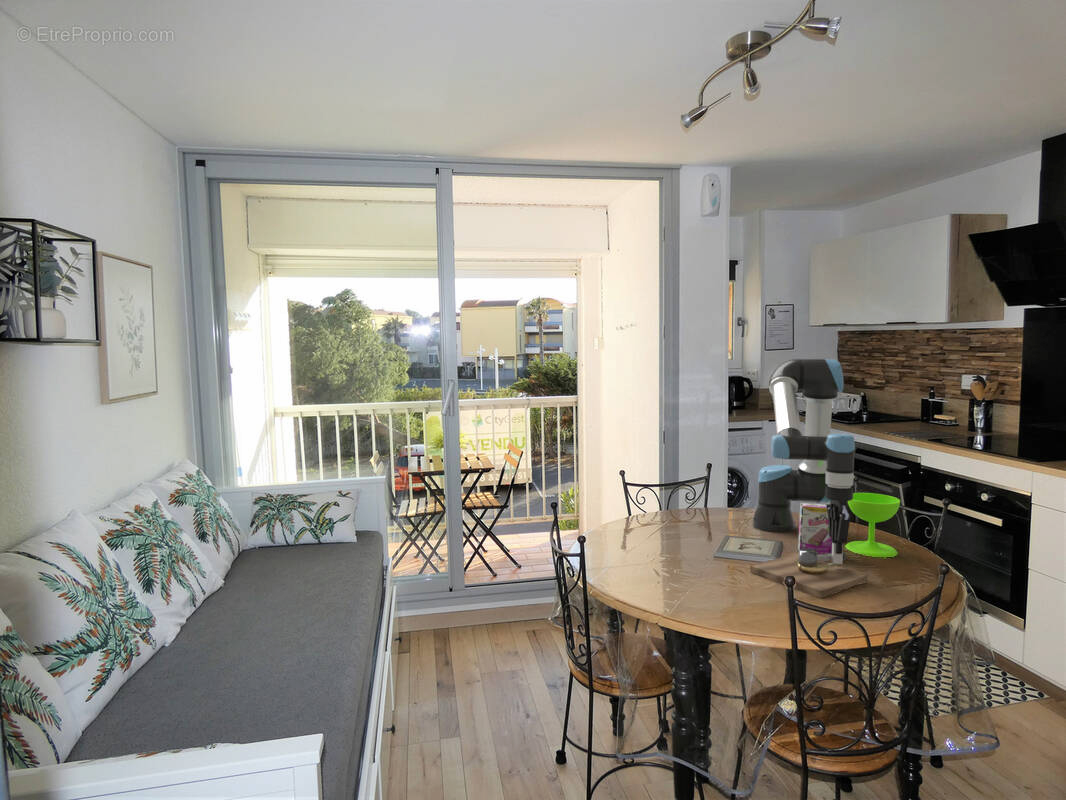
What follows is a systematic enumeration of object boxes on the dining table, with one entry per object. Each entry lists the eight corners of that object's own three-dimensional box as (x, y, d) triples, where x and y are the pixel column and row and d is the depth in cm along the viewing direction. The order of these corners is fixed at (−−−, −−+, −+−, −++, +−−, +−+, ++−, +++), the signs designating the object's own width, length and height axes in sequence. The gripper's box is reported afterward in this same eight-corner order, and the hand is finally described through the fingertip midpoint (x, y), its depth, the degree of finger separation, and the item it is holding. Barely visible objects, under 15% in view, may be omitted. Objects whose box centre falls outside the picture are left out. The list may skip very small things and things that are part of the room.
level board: (750, 572, 199) (750, 565, 199) (796, 558, 211) (796, 552, 211) (820, 598, 179) (821, 590, 179) (867, 581, 191) (867, 574, 190)
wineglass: (848, 540, 230) (850, 490, 229) (900, 548, 221) (902, 496, 220) (840, 552, 217) (842, 499, 216) (895, 561, 208) (897, 506, 207)
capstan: (809, 574, 190) (809, 556, 190) (791, 565, 198) (792, 547, 197) (854, 569, 194) (855, 551, 194) (835, 561, 202) (836, 543, 201)
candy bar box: (799, 554, 216) (801, 505, 214) (797, 549, 220) (799, 502, 219) (836, 557, 213) (838, 508, 211) (833, 552, 217) (835, 504, 216)
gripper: (861, 490, 187) (858, 570, 188) (843, 481, 200) (841, 557, 201) (834, 490, 187) (832, 570, 189) (818, 481, 200) (816, 556, 202)
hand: (836, 563), depth 195 cm, fingers closed
